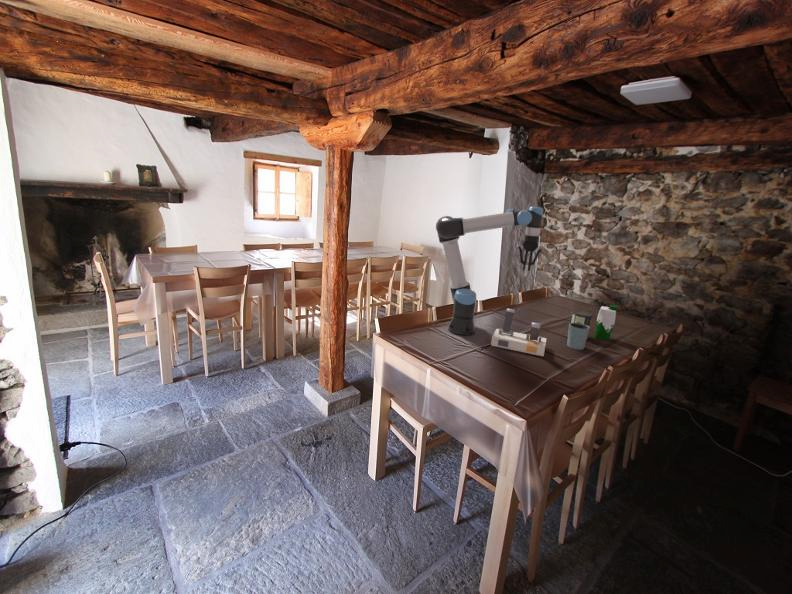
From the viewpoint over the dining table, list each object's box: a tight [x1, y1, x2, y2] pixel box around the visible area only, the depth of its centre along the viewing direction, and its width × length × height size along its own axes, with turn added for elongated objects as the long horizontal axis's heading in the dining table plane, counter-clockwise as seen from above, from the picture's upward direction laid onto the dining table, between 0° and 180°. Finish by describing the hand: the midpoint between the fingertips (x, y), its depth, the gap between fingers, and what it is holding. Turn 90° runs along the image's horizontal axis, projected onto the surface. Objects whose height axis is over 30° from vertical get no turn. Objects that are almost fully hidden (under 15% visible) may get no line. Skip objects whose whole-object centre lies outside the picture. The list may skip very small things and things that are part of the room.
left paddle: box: [502, 308, 515, 333], centre depth 204 cm, size 4×2×13 cm, turn 67°
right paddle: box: [529, 322, 541, 341], centre depth 192 cm, size 4×2×13 cm
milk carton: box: [594, 304, 618, 342], centre depth 222 cm, size 9×9×20 cm
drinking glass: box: [566, 322, 591, 351], centre depth 206 cm, size 10×10×12 cm
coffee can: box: [570, 310, 593, 339], centre depth 223 cm, size 10×10×14 cm
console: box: [490, 328, 547, 357], centre depth 201 cm, size 26×14×7 cm, turn 67°
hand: (525, 276), depth 222 cm, fingers closed
